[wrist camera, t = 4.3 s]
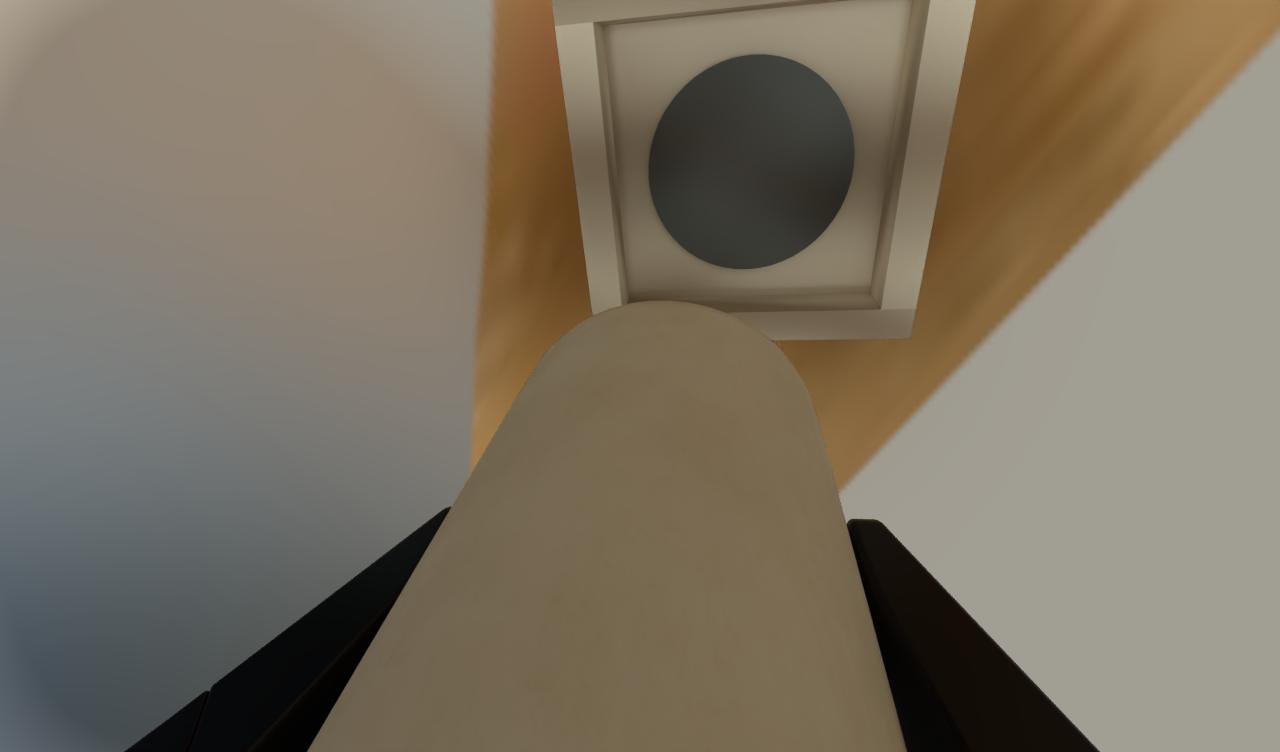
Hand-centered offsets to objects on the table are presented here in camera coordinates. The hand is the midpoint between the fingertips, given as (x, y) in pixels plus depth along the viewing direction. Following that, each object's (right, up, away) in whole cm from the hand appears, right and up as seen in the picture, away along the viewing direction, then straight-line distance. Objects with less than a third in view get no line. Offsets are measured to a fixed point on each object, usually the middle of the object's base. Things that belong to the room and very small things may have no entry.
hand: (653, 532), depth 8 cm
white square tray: (+3, +9, +9) cm, 14 cm away
